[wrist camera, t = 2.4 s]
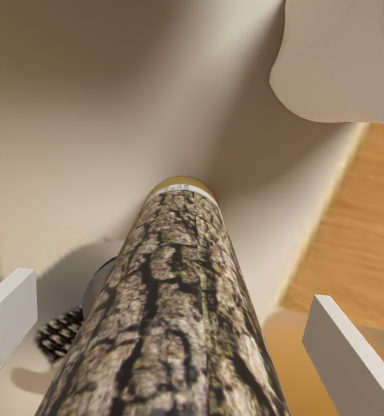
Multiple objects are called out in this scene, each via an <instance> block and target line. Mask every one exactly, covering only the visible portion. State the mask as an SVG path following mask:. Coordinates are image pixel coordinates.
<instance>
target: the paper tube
mask: <svg viewBox="0 0 384 416" xmlns="http://www.w3.org/2000/svg"><path fill="white" fill-rule="evenodd" d="M35 416H291V414H290V412H289V409H288V406H287V403H286V400H285V397H284V394H283V391H282V388H281V385H280V383H279V380H278V377H277V374H276V371H275V368H274V365H273V362H272V360H271V356H270V353H269V350H268V348H267V345H266V342H265V339H264V336H263V333H262V330H261V327H260V324H259V321H258V318H257V316H256V313H255V310H254V307H253V304H252V301H251V298H250V295H249V292H248V289H247V287H246V284H245V281H244V278H243V275H242V272H241V269H240V266H239V263H238V260H237V257H236V255H235V252H234V249H233V246H232V243H231V240H230V237H229V234H228V231H227V228H226V225H225V223H224V220H223V217H222V215H221V211H220V208H219V206H218V203H217V200H216V198H215V196H214V194H213V192H212V191H211V190H210V188H209V187H208V186H206V185H205V184H204V183H202V182H201V181H199V180H197V179H195V178H191V177H186V176H177V177H172V178H169V179H166V180H164V181H163V182H161V183H160V184H158V185H157V186H156V187H155V188H154V189H153V190H152V192H151V193H150V195H149V197H148V199H147V201H146V203H145V204H144V206H143V209H142V210H141V212H140V214H139V215H138V217H137V219H136V221H135V223H134V225H133V227H132V229H131V231H130V233H129V235H128V237H127V239H126V241H125V242H124V244H123V246H122V248H121V250H120V252H119V254H118V256H117V258H116V260H115V262H114V264H113V266H112V267H111V269H110V271H109V273H108V275H107V277H106V279H105V281H104V283H103V285H102V287H101V289H100V291H99V292H98V294H97V296H96V298H95V300H94V302H93V304H92V306H91V308H90V310H89V312H88V314H87V316H86V317H85V319H84V321H83V323H82V325H81V327H80V329H79V331H78V333H77V335H76V337H75V339H74V341H73V342H72V344H71V346H70V348H69V350H68V352H67V354H66V356H65V358H64V360H63V362H62V364H61V366H60V367H59V369H58V371H57V373H56V375H55V377H54V379H53V381H52V383H51V385H50V387H49V389H48V391H47V392H46V394H45V396H44V398H43V400H42V402H41V404H40V406H39V408H38V410H37V412H36V414H35Z"/></svg>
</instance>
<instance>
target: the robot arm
mask: <svg viewBox="0 0 384 416" xmlns="http://www.w3.org/2000/svg"><path fill="white" fill-rule="evenodd" d="M37 320H38V315H37V295H36V274H35V269H28V268H17V269H16V270H15V271H14V272H13V273H11V274H10V275H9V276H8V277H7V278H6V279H4V280H3V281H2V282H1V283H0V369H1V367H2V366H3V365H4V363H5V362H6V361H7V360H8V358H9V357H10V356H11V354H12V353H13V352H14V350H15V349H16V348H17V346H18V345H19V344H20V342H21V341H22V340H23V339H24V337H25V336H26V334H27V333H28V332H29V331H30V329H31V328H32V327H33V325H34V324H35V322H36V321H37ZM302 343H303V345H304V347H305V349H306V351H307V353H308V355H309V357H310V359H311V361H312V363H313V365H314V367H315V368H316V370H317V372H318V374H319V376H320V378H321V380H322V382H323V384H324V386H325V388H326V390H327V392H328V394H329V396H330V398H331V399H332V401H333V403H334V405H335V407H336V409H337V411H338V413H339V415H340V416H384V362H383V361H382V359H381V358H380V357H379V356H378V355H377V354H376V352H375V351H374V350H373V348H372V347H371V346H370V345H369V344H368V342H367V341H366V340H365V339H364V337H363V336H362V335H361V334H360V332H359V331H358V330H357V329H356V328H355V326H354V325H353V324H352V323H351V321H350V320H349V319H348V318H347V316H346V315H345V314H344V313H343V311H342V310H341V309H340V308H339V307H338V305H337V304H336V303H335V302H334V300H333V299H332V298H331V297H330V296H326V295H315V294H314V297H313V301H312V305H311V309H310V313H309V316H308V320H307V324H306V328H305V332H304V336H303V340H302Z"/></svg>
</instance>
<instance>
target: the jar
mask: <svg viewBox="0 0 384 416" xmlns="http://www.w3.org/2000/svg"><path fill="white" fill-rule="evenodd" d="M269 83H270V85H271V87H272V89H273V91H274V93H275V95H276V96H277V98H278V99H279V100H280V102H281V103H282V104H283V105H284V106H285V107H286V108H287V109H289V110H290V111H291V112H293V113H294V114H296V115H297V116H299V117H301V118H304V119H307V120H310V121H314V122H321V123H338V122H377V123H382V124H384V0H286V3H285V28H284V35H283V40H282V44H281V48H280V51H279V54H278V56H277V59H276V61H275V63H274V65H273V67H272V69H271V74H270V78H269Z"/></svg>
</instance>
